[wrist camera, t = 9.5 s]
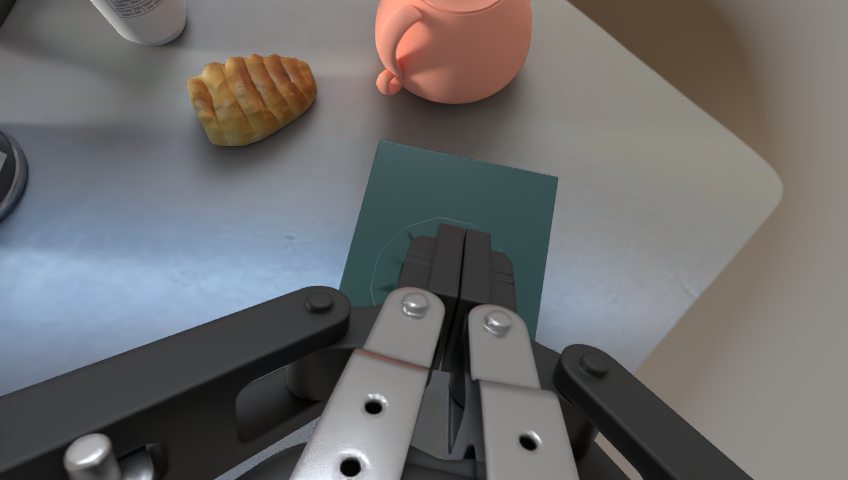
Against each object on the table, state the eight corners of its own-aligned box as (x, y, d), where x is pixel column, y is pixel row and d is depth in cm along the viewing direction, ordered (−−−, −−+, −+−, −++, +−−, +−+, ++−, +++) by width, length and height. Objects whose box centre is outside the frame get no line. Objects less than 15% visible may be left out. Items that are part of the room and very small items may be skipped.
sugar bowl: (550, 59, 38) (599, -48, 28) (433, 161, 35) (442, 81, 25) (450, -26, 40) (463, -153, 30) (332, 63, 37) (303, -45, 27)
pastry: (301, 53, 37) (289, 19, 34) (332, 117, 36) (323, 90, 32) (193, 93, 36) (168, 62, 32) (220, 162, 34) (197, 138, 31)
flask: (491, 375, 31) (541, 383, 19) (352, 344, 31) (317, 333, 19) (516, 230, 34) (571, 160, 22) (388, 202, 34) (377, 119, 22)
